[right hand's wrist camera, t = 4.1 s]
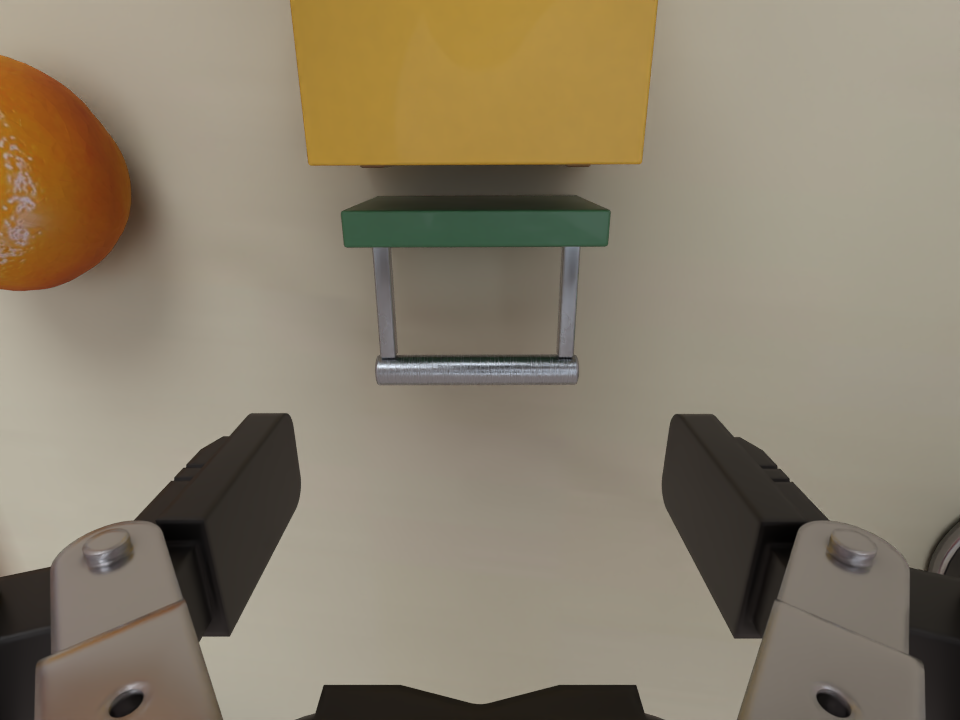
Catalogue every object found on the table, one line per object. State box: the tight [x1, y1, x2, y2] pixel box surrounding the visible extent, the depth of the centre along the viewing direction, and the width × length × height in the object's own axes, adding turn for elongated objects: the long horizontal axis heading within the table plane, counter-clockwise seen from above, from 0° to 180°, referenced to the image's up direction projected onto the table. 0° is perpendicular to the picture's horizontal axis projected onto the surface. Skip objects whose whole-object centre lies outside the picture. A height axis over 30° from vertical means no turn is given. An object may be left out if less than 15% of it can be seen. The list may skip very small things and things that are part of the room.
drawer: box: [341, 164, 611, 385], centre depth 20 cm, size 18×9×6 cm, turn 0°
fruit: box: [0, 55, 131, 291], centre depth 21 cm, size 8×8×8 cm
